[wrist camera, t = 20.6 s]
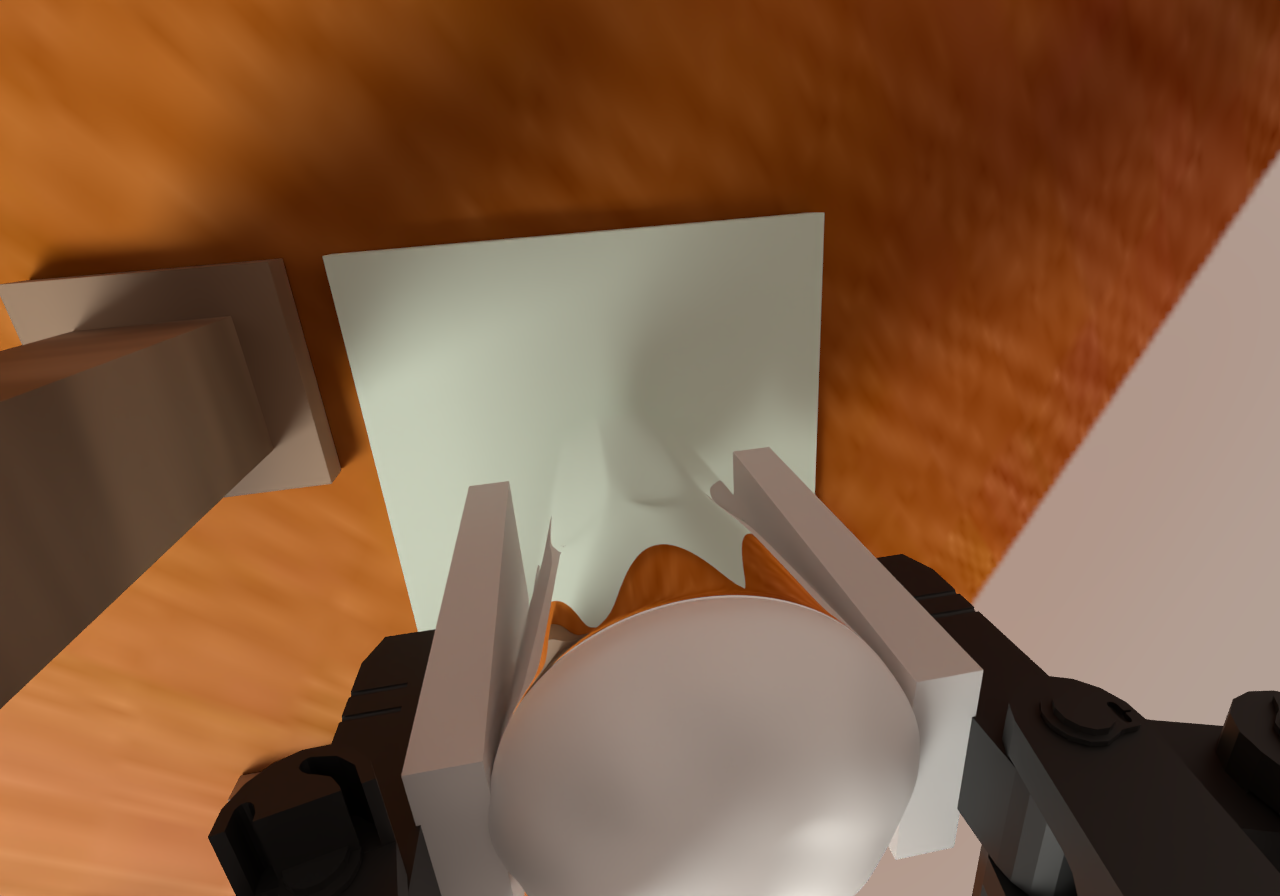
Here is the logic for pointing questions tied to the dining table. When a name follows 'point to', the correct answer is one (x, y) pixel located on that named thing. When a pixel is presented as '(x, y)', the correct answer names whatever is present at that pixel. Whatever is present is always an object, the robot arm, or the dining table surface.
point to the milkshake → (687, 696)
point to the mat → (573, 361)
